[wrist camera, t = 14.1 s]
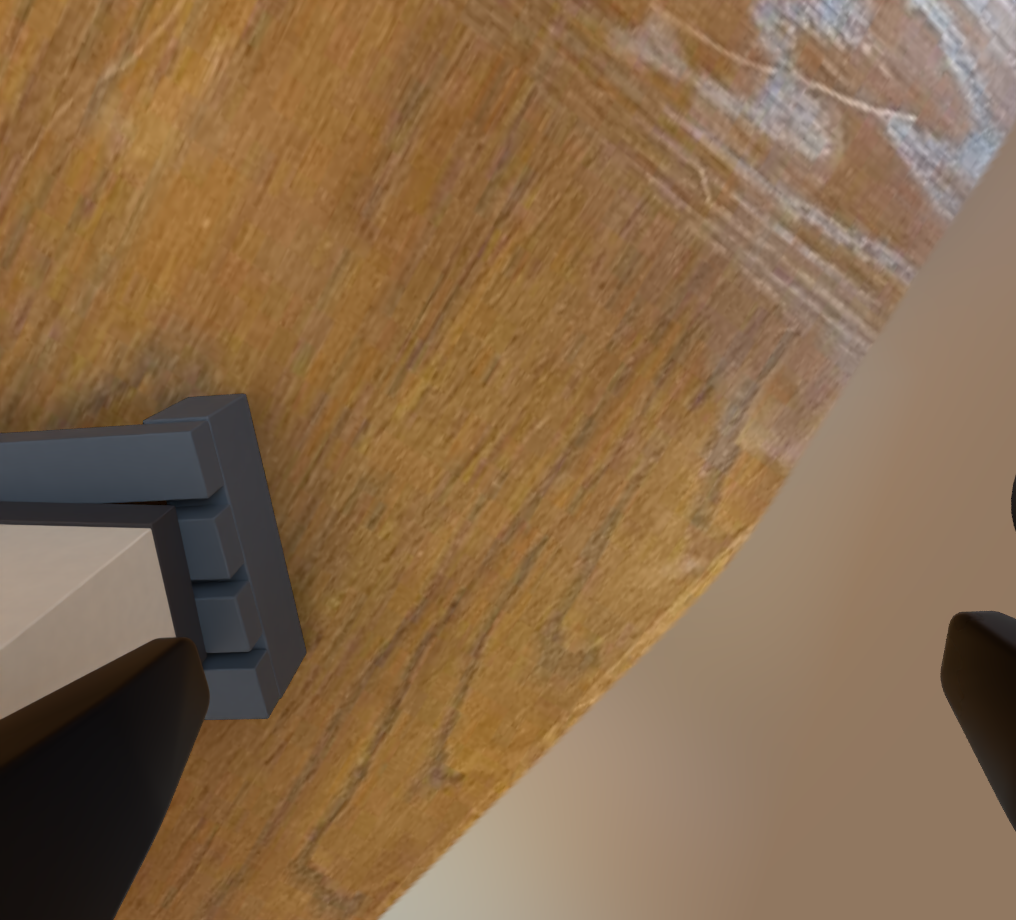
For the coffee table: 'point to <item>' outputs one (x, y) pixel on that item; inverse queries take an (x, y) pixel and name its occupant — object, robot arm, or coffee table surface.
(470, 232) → the coffee table surface
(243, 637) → the grey shipping pallet
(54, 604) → the cream boot
